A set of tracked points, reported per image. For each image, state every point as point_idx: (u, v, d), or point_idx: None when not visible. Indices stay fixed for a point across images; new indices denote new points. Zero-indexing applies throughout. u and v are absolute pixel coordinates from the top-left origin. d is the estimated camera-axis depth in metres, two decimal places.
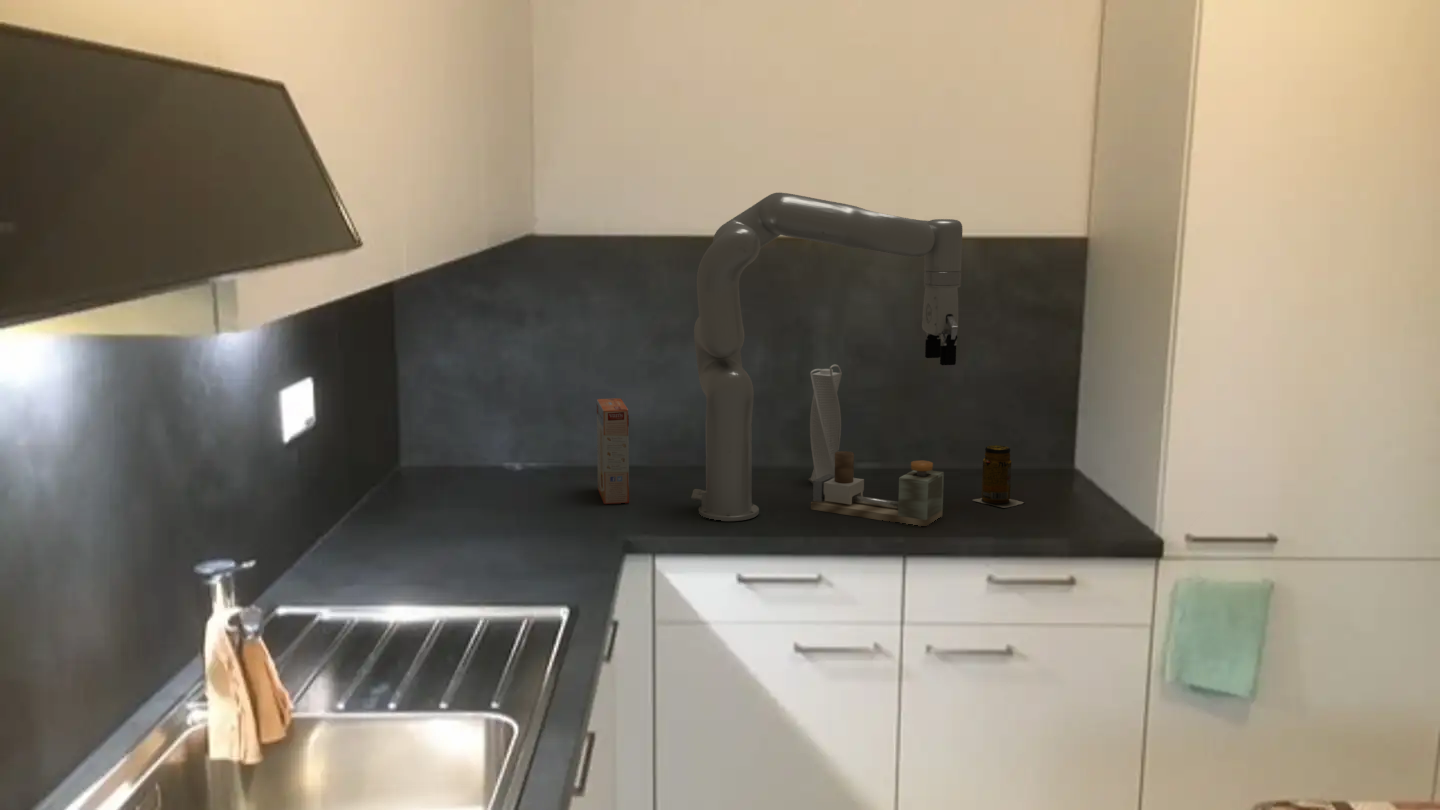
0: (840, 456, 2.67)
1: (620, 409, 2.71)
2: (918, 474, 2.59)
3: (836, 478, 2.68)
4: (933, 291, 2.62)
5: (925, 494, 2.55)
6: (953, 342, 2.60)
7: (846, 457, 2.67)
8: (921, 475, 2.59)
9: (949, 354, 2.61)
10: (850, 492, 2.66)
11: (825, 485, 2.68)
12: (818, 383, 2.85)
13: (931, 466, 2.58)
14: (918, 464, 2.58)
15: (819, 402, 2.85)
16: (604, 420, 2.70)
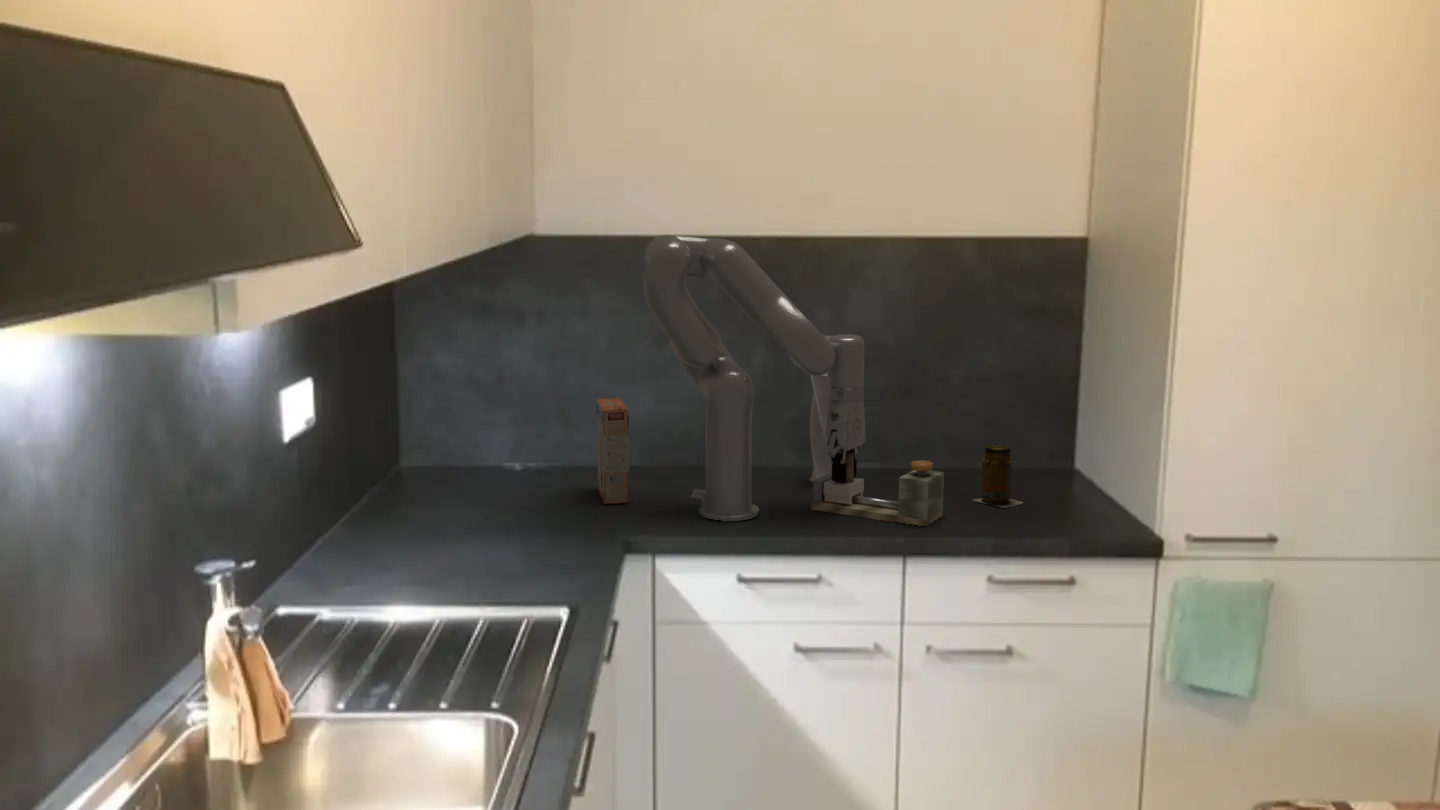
0: None
1: (620, 409, 2.71)
2: (918, 474, 2.59)
3: None
4: (861, 403, 2.67)
5: (925, 494, 2.55)
6: None
7: (846, 457, 2.67)
8: (921, 475, 2.59)
9: None
10: (850, 492, 2.66)
11: (825, 485, 2.68)
12: (818, 383, 2.85)
13: (931, 466, 2.58)
14: (918, 464, 2.58)
15: (819, 402, 2.85)
16: (604, 420, 2.70)
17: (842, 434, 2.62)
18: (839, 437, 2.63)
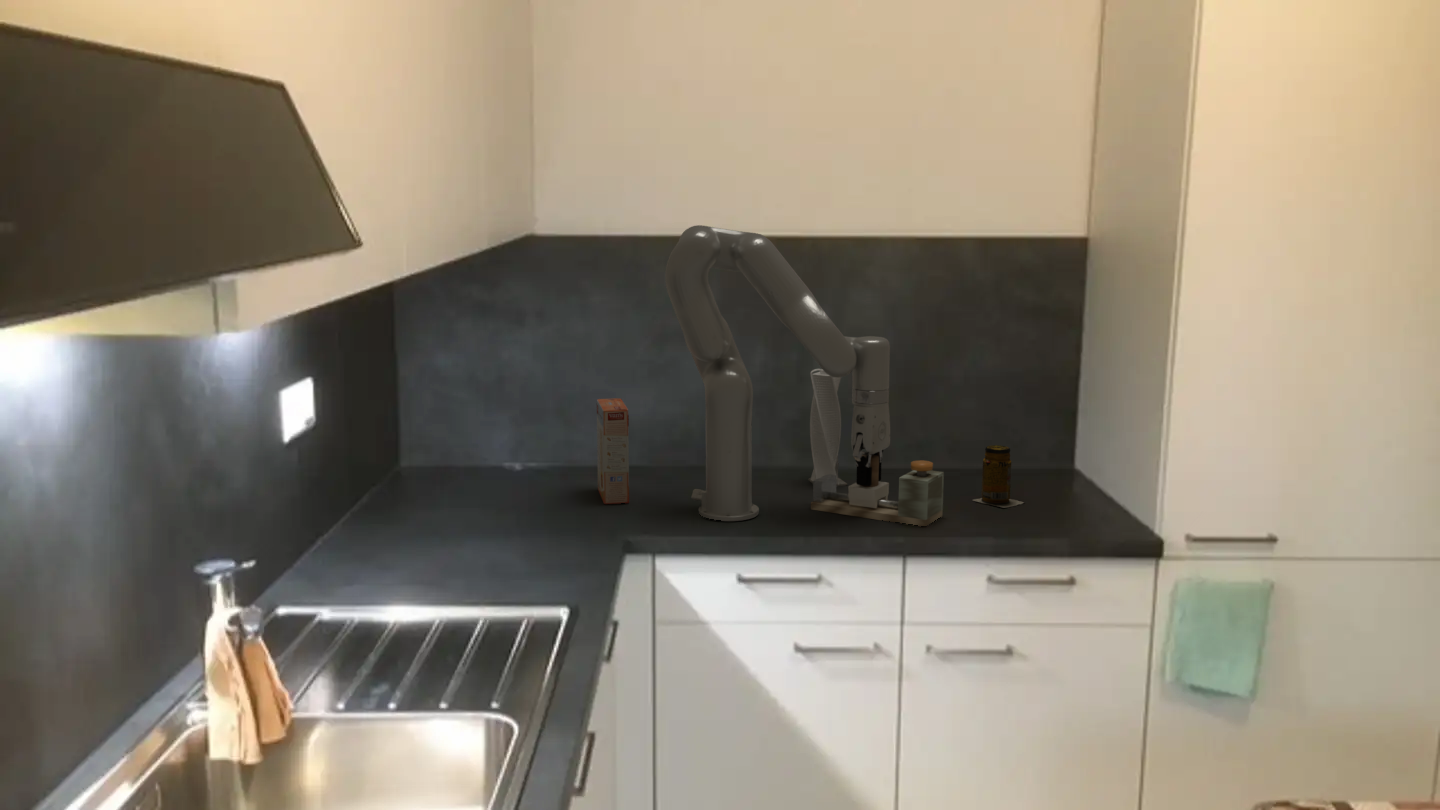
0: None
1: (620, 409, 2.71)
2: (918, 474, 2.59)
3: None
4: (886, 406, 2.64)
5: (925, 494, 2.55)
6: None
7: (871, 460, 2.64)
8: (921, 475, 2.59)
9: None
10: (875, 496, 2.63)
11: (850, 489, 2.65)
12: (818, 383, 2.85)
13: (931, 466, 2.58)
14: (918, 464, 2.58)
15: (819, 402, 2.85)
16: (604, 420, 2.70)
17: (868, 437, 2.59)
18: (865, 440, 2.60)
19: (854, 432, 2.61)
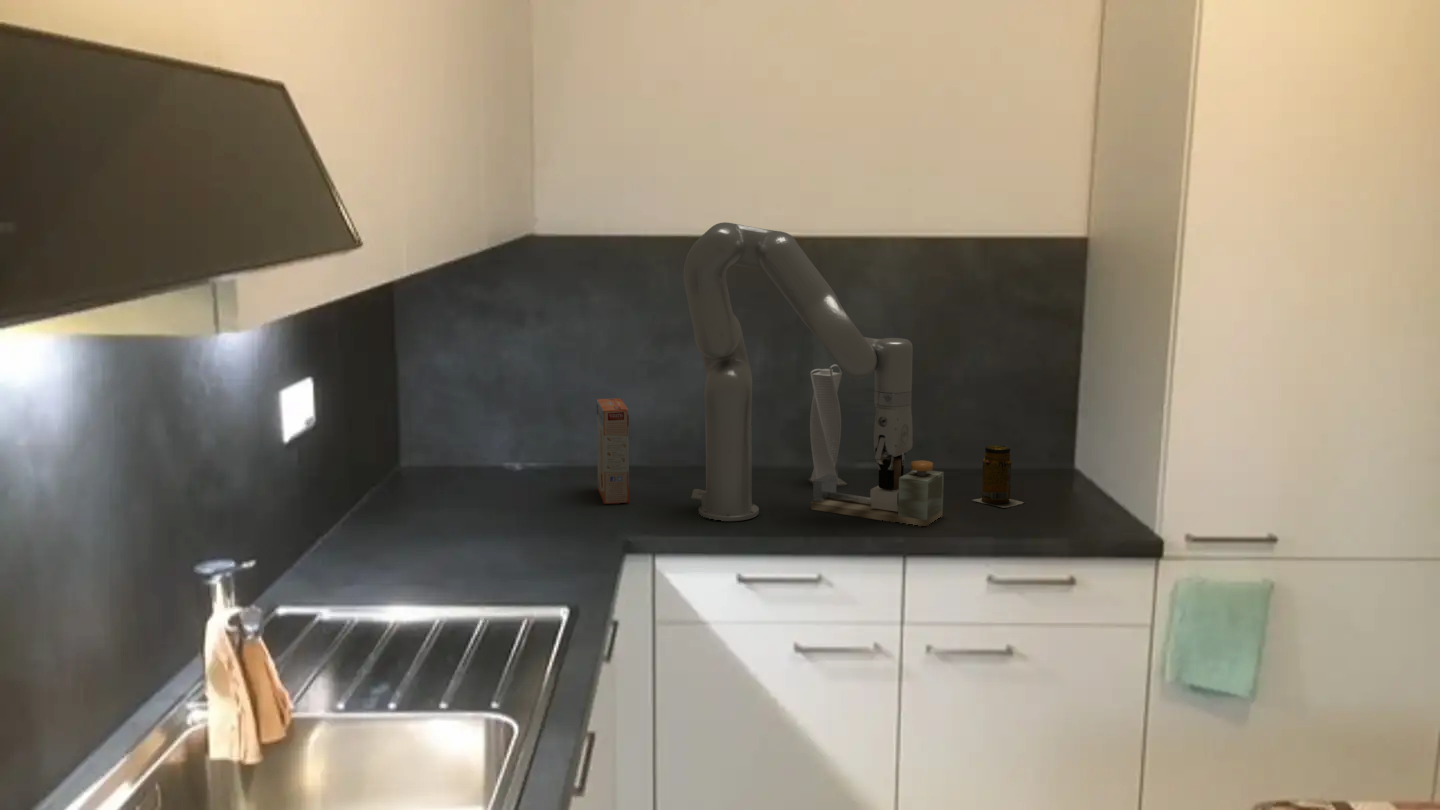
0: None
1: (620, 409, 2.71)
2: (918, 474, 2.59)
3: None
4: (908, 408, 2.61)
5: (925, 494, 2.55)
6: None
7: (894, 463, 2.61)
8: (921, 475, 2.59)
9: None
10: (898, 499, 2.60)
11: (872, 492, 2.63)
12: (818, 383, 2.85)
13: (931, 466, 2.58)
14: (918, 464, 2.58)
15: (819, 402, 2.85)
16: (604, 420, 2.70)
17: (890, 440, 2.57)
18: (887, 443, 2.57)
19: (876, 435, 2.58)
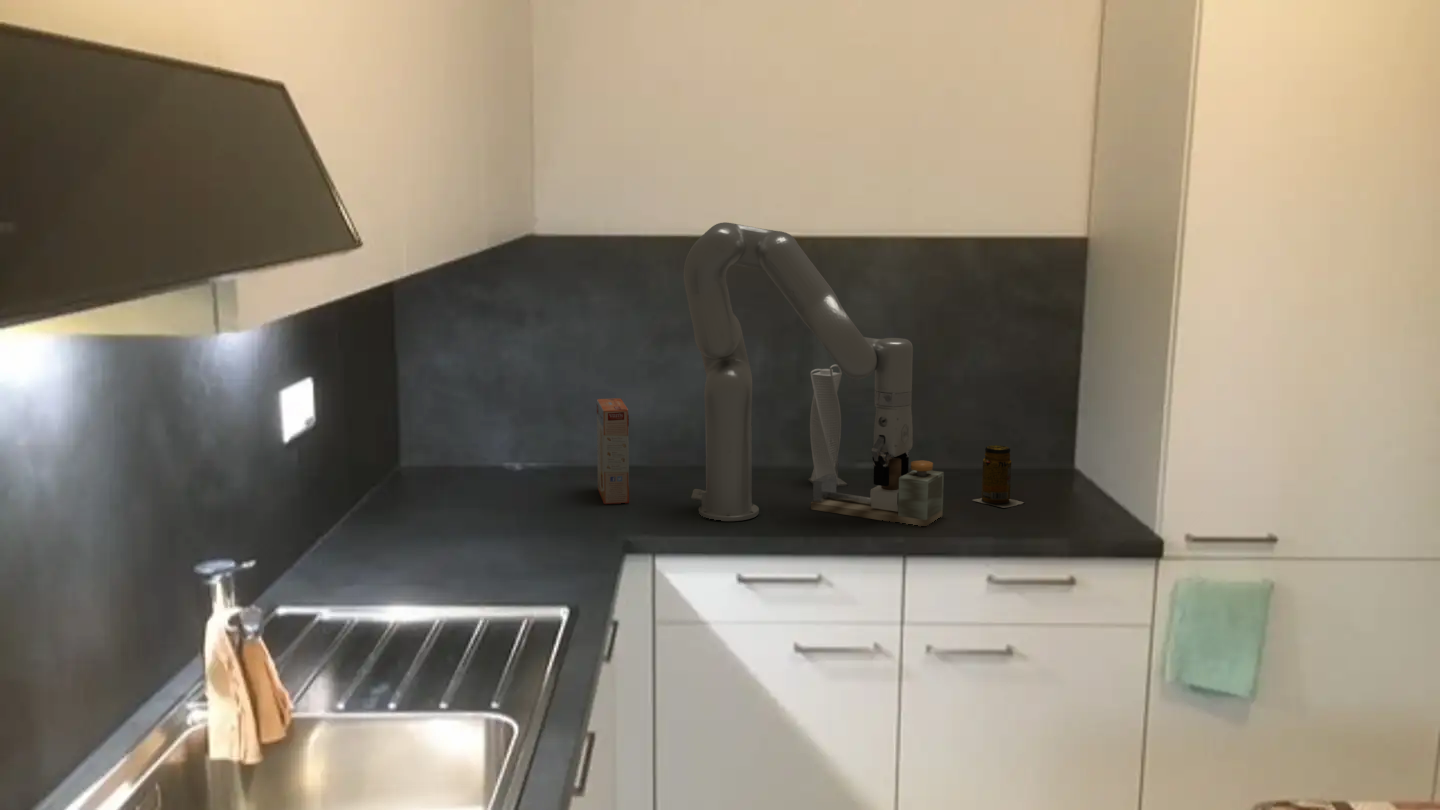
0: None
1: (620, 409, 2.71)
2: (918, 474, 2.59)
3: None
4: (908, 408, 2.61)
5: (925, 494, 2.55)
6: None
7: (894, 463, 2.61)
8: (921, 475, 2.59)
9: None
10: (898, 499, 2.60)
11: (872, 492, 2.63)
12: (818, 383, 2.85)
13: (931, 466, 2.58)
14: (918, 464, 2.58)
15: (819, 402, 2.85)
16: (604, 420, 2.70)
17: (890, 440, 2.57)
18: (887, 443, 2.57)
19: (876, 435, 2.58)
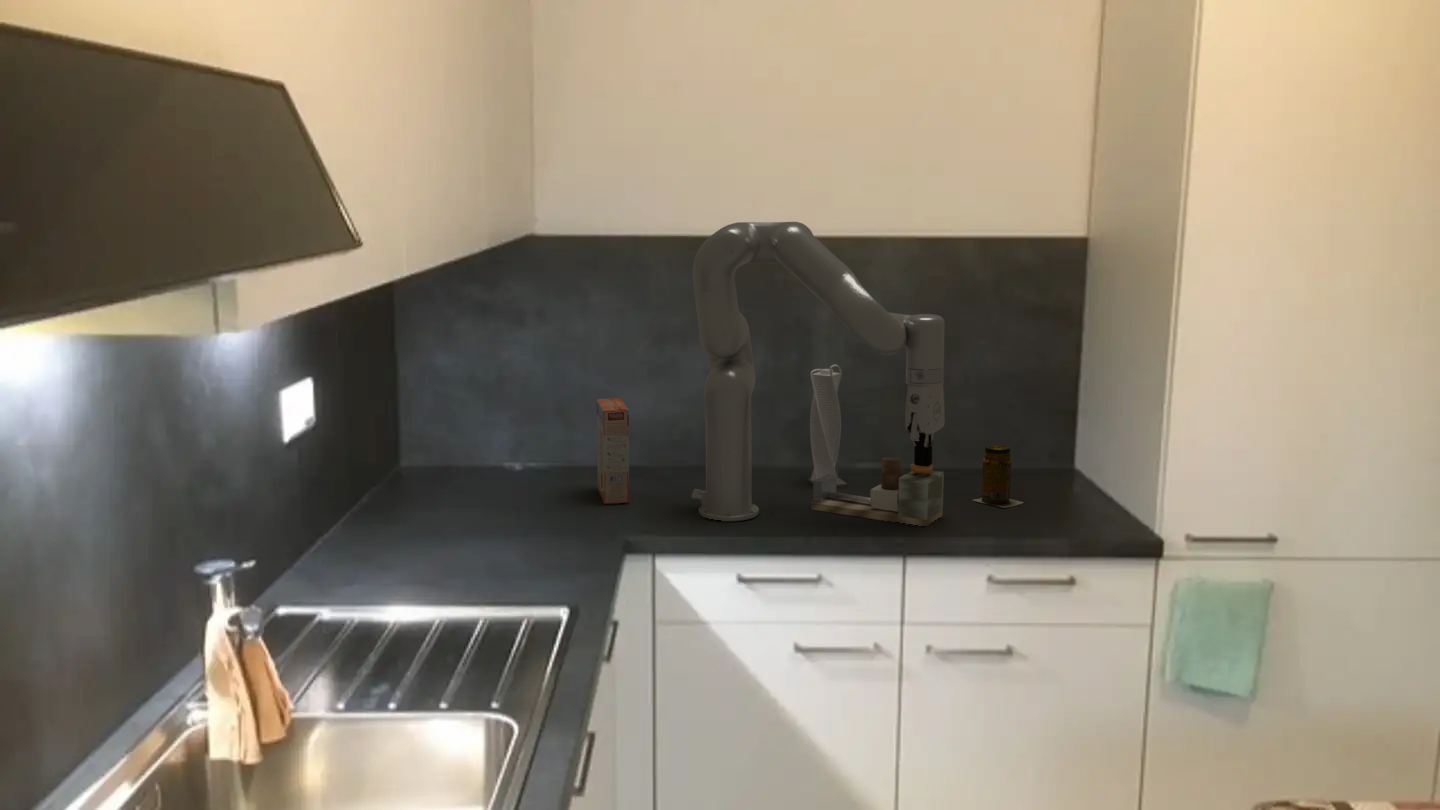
0: (887, 462, 2.61)
1: (620, 409, 2.71)
2: None
3: (883, 485, 2.63)
4: (940, 385, 2.57)
5: (925, 494, 2.55)
6: None
7: (894, 463, 2.61)
8: None
9: None
10: (898, 499, 2.60)
11: (872, 492, 2.63)
12: (818, 383, 2.85)
13: (931, 468, 2.58)
14: (918, 466, 2.58)
15: (819, 402, 2.85)
16: (604, 420, 2.70)
17: (923, 417, 2.52)
18: (919, 421, 2.53)
19: (908, 412, 2.54)
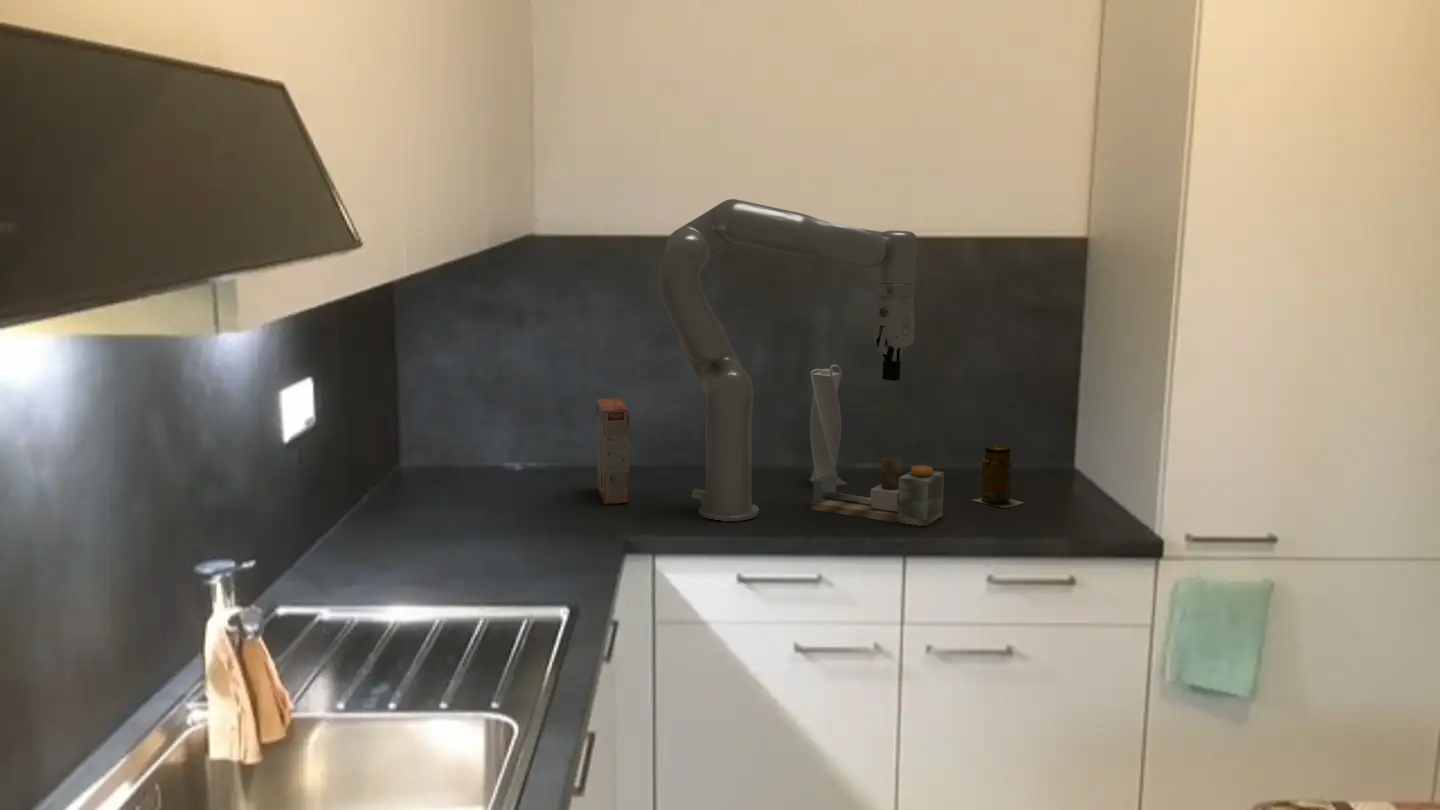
0: (887, 462, 2.61)
1: (620, 409, 2.71)
2: None
3: (883, 485, 2.63)
4: (911, 302, 2.62)
5: (925, 494, 2.55)
6: None
7: (894, 463, 2.61)
8: None
9: None
10: (898, 499, 2.60)
11: (872, 492, 2.63)
12: (818, 383, 2.85)
13: (931, 471, 2.58)
14: (918, 469, 2.58)
15: (819, 402, 2.85)
16: (604, 420, 2.70)
17: (891, 330, 2.58)
18: (888, 334, 2.58)
19: (877, 326, 2.59)
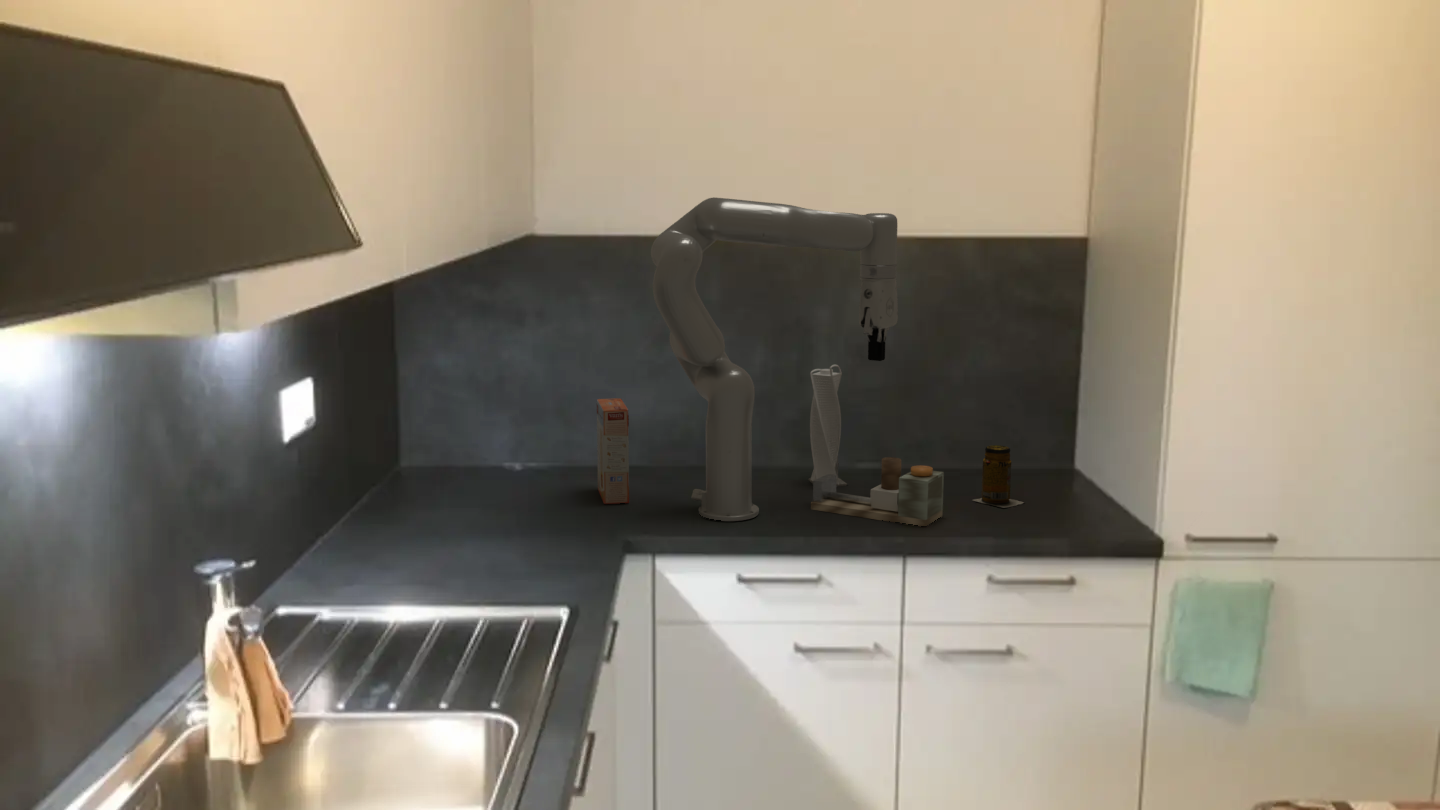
0: (887, 462, 2.61)
1: (620, 409, 2.71)
2: None
3: (883, 485, 2.63)
4: (893, 282, 2.67)
5: (925, 494, 2.55)
6: None
7: (894, 463, 2.61)
8: None
9: None
10: (898, 499, 2.60)
11: (872, 492, 2.63)
12: (818, 383, 2.85)
13: (931, 471, 2.58)
14: (918, 469, 2.58)
15: (819, 402, 2.85)
16: (604, 420, 2.70)
17: (875, 311, 2.62)
18: (872, 315, 2.62)
19: (862, 307, 2.64)
